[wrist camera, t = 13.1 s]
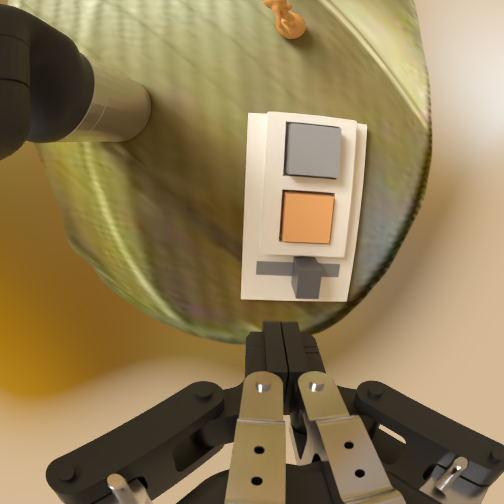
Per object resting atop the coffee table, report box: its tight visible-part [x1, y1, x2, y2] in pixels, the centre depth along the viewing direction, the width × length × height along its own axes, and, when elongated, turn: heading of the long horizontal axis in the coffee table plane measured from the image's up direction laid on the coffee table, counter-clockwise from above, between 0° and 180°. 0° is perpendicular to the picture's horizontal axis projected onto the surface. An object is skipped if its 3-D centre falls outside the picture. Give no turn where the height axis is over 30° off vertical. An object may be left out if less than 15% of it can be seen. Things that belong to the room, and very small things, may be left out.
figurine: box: [263, 0, 306, 39], centre depth 29 cm, size 8×6×12 cm
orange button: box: [280, 190, 334, 243], centre depth 40 cm, size 6×6×3 cm
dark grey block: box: [291, 256, 322, 299], centre depth 42 cm, size 3×4×5 cm
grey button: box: [286, 123, 342, 178], centre depth 36 cm, size 6×6×3 cm
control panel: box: [241, 112, 367, 302], centre depth 41 cm, size 16×26×4 cm, turn 177°
